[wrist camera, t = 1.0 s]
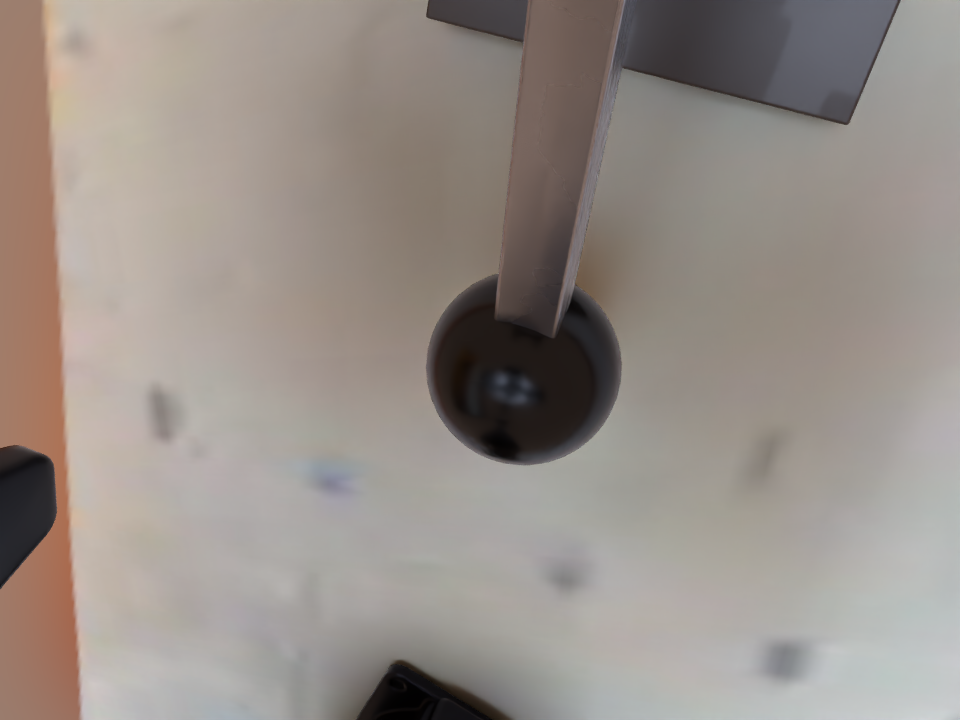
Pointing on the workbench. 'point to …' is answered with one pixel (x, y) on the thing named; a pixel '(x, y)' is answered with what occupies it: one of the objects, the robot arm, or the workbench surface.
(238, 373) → the workbench surface
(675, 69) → the bracket
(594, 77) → the lever
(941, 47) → the workbench surface
